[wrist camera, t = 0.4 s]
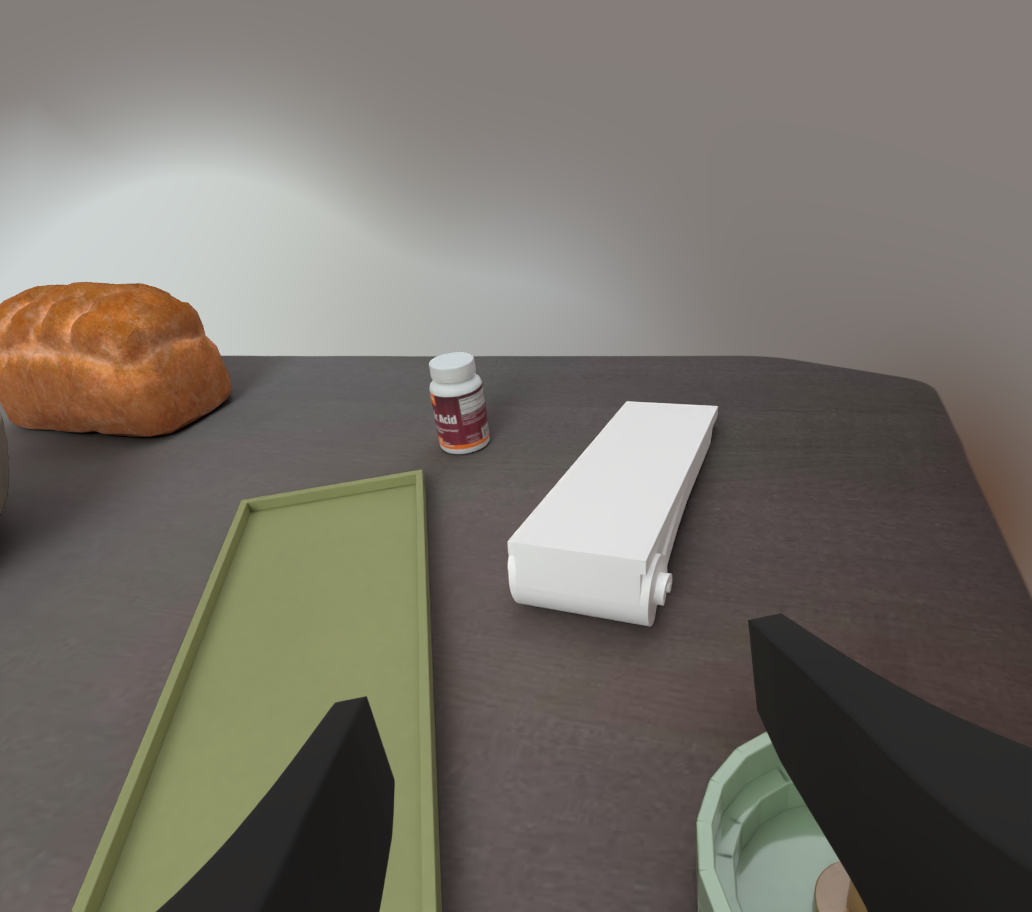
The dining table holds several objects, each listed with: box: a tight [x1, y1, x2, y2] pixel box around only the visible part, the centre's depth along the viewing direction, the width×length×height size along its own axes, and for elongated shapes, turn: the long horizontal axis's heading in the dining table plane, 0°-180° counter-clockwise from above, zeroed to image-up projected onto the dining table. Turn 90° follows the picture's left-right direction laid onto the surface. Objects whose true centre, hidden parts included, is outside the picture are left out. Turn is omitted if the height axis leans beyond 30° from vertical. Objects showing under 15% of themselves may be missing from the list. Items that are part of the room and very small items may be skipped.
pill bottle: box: [429, 352, 490, 454], centre depth 64 cm, size 5×5×8 cm
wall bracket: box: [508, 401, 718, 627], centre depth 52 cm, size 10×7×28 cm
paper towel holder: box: [813, 861, 868, 912], centre depth 24 cm, size 4×4×9 cm
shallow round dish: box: [696, 731, 840, 912], centre depth 25 cm, size 12×12×4 cm
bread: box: [0, 282, 232, 437], centre depth 80 cm, size 14×26×16 cm, turn 69°
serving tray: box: [71, 470, 442, 912], centre depth 42 cm, size 39×15×2 cm, turn 8°
